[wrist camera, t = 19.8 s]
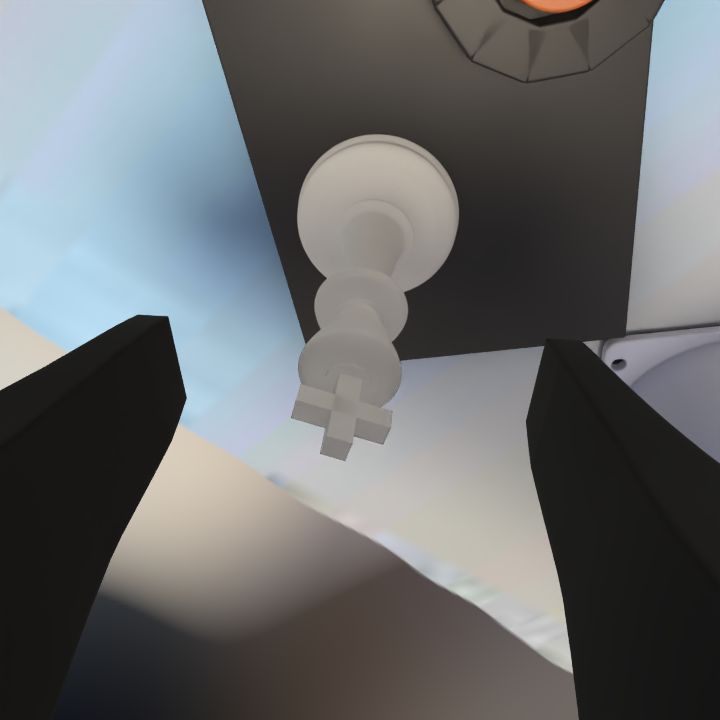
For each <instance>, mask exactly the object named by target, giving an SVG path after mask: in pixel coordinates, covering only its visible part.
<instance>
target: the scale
mask: <svg viewBox="0 0 720 720" xmlns="http://www.w3.org/2000/svg"><path fill="white" fill-rule="evenodd" d="M664 1H665V0H593V1H591V2H589V3H587V4H586V5H584V6H582V7H579V8H577V9H574V10H571V11H567V12H560V13H549V12H543V11H540V10H537V9H534V8H532V7H530V6H528V5H526V4H524V3H522V2H520V1H519V0H202V2H203V5H204V8H205V12H206V15H207V18H208V22H209V25H210V28H211V32H212V35H213V38H214V42H215V45H216V48H217V52H218V55H219V58H220V61H221V65H222V68H223V71H224V75H225V78H226V81H227V85H228V88H229V91H230V95H231V98H232V101H233V105H234V108H235V111H236V114H237V118H238V121H239V124H240V128H241V131H242V134H243V138H244V141H245V144H246V148H247V151H248V154H249V158H250V161H251V164H252V168H253V171H254V174H255V177H256V181H257V184H258V187H259V191H260V194H261V197H262V201H263V204H264V207H265V211H266V214H267V217H268V221H269V224H270V227H271V230H272V234H273V237H274V240H275V244H276V247H277V250H278V254H279V257H280V260H281V264H282V267H283V270H284V274H285V277H286V280H287V283H288V287H289V290H290V293H291V297H292V300H293V303H294V307H295V310H296V313H297V317H298V320H299V323H300V327H301V330H302V333H303V337H304V340H305V343H306V344H307V343H308V341H309V340H310V339H311V338H312V337H313V336H314V335H315V334H316V333H317V332H318V331H320V330H321V329H320V327H319V325H318V322H317V318H316V315H315V307H314V304H315V297H316V294H317V292H318V289H319V288H320V286H321V285H322V283H323V282H324V281H325V280H326V279H327V278H326V277H325V276H324V275H323V274H322V273H321V272H320V271H319V270H318V269H317V268H316V267H315V266H314V264H313V263H312V262H311V260H310V259H309V257H308V255H307V254H306V252H305V250H304V247H303V245H302V242H301V239H300V236H299V231H298V223H297V212H298V202H299V196H300V192H301V188H302V185H303V183H304V180H305V178H306V176H307V174H308V173H309V171H310V169H311V168H312V166H313V165H314V164H315V163H316V161H317V160H318V159H319V158H320V157H321V156H322V155H323V154H324V153H326V152H327V151H328V150H330V149H331V148H332V147H334V146H336V145H337V144H339V143H341V142H343V141H346V140H348V139H351V138H354V137H358V136H363V135H371V134H383V135H391V136H396V137H400V138H403V139H406V140H409V141H411V142H413V143H415V144H417V145H419V146H421V147H422V148H424V149H425V150H427V151H428V152H429V153H430V154H432V155H433V156H434V157H435V158H436V159H437V160H438V161H439V162H440V164H441V165H442V166H443V167H444V169H445V170H446V172H447V173H448V175H449V177H450V179H451V180H452V183H453V185H454V188H455V191H456V194H457V199H458V205H459V222H458V228H457V232H456V236H455V240H454V244H453V246H452V249H451V251H450V253H449V255H448V257H447V259H446V260H445V262H444V263H443V265H442V266H441V267H440V268H439V270H438V271H437V272H436V273H435V274H434V275H433V276H432V277H430V278H429V279H428V280H427V281H425V282H424V283H422V284H420V285H419V286H417V287H415V288H413V289H411V290H408V291H405V292H404V295H405V297H406V300H407V304H408V316H407V320H406V323H405V325H404V327H403V329H402V331H401V332H400V333H399V335H398V336H397V337H396V338H395V339H394V340H393V341H392V344H393V346H394V348H395V350H396V352H397V354H398V357H399V360H400V361H402V360H412V359H422V358H431V357H441V356H451V355H460V354H470V353H480V352H489V351H499V350H508V349H518V348H528V347H537V346H545V342H546V338H548V339H566V340H580V341H582V342H586V341H595V340H605V339H615V338H624V337H625V335H626V323H627V312H628V301H629V290H630V278H631V267H632V256H633V245H634V233H635V222H636V211H637V200H638V188H639V177H640V166H641V155H642V143H643V132H644V121H645V110H646V98H647V87H648V76H649V64H650V53H651V42H652V31H653V20H654V18H655V17H656V15H657V13H658V11H659V10H660V8H661V6H662V4H663V2H664Z"/></svg>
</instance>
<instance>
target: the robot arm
mask: <svg viewBox="0 0 720 720" xmlns="http://www.w3.org/2000/svg"><path fill="white" fill-rule="evenodd" d="M617 359H623V360H622V361H621V362H620V363H618V364H612V362H613V361H615V360H617ZM186 399H187V397H186V393H185V388H184V384H183V379H182V375H181V371H180V366H179V362H178V357H177V353H176V349H175V344H174V340H173V335H172V331H171V327H170V322H169V318H168V316H152V315H136V316H134V317H132V318H130V319H128V320H126V321H124V322H122V323H120V324H118V325H116V326H114V327H113V328H111V329H109V330H107V331H106V332H104V333H102V334H100V335H99V336H97V337H95V338H93V339H92V340H90V341H88V342H87V343H85V344H83V345H81V346H80V347H78V348H76V349H75V350H73V351H71V352H69V353H68V354H66V355H65V356H62V357H61V358H59V359H57V360H56V361H54V362H52V363H50V364H49V365H47V366H46V367H43V368H42V369H40V370H38V371H36V372H34V373H32V374H30V375H28V376H26V377H25V378H23V379H21V380H19V381H17V382H15V383H13V384H11V385H10V386H8V387H6V388H4V389H2V390H0V720H52V719H53V716H54V713H55V709H56V707H57V704H58V701H59V698H60V695H61V691H62V689H63V686H64V683H65V679H66V677H67V674H68V671H69V668H70V665H71V662H72V659H73V656H74V653H75V651H76V648H77V645H78V643H79V640H80V637H81V634H82V632H83V629H84V626H85V624H86V621H87V618H88V615H89V612H90V610H91V607H92V604H93V602H94V600H95V597H96V595H97V592H98V590H99V587H100V585H101V582H102V580H103V577H104V575H105V572H106V570H107V567H108V565H109V562H110V559H111V557H112V555H113V553H114V551H115V549H116V547H117V545H118V542H119V540H120V538H121V536H122V534H123V533H124V531H125V529H126V527H127V525H128V523H129V521H130V519H131V518H132V516H133V514H134V512H135V510H136V508H137V506H138V504H139V502H140V501H141V499H142V497H143V495H144V493H145V491H146V489H147V487H148V486H149V484H150V482H151V480H152V478H153V476H154V474H155V472H156V470H157V469H158V467H159V465H160V463H161V461H162V459H163V457H164V455H165V453H166V451H167V449H168V447H169V445H170V443H171V441H172V439H173V436H174V433H175V430H176V428H177V425H178V422H179V420H180V417H181V414H182V411H183V408H184V405H185V402H186ZM526 426H527V437H528V447H529V455H530V463H531V469H532V474H533V478H534V482H535V486H536V490H537V494H538V498H539V502H540V506H541V510H542V514H543V518H544V522H545V526H546V530H547V534H548V538H549V542H550V545H551V549H552V553H553V557H554V561H555V565H556V569H557V573H558V578H559V582H560V587H561V592H562V597H563V603H564V610H565V617H566V624H567V630H568V637H569V644H570V651H571V659H572V667H573V675H574V683H575V690H576V698H577V707H578V715H579V720H720V326H714V327H705V328H695V329H685V330H676V331H666V332H657V333H647V334H637V335H628V336H625V337H624V338H615V339H610V340H608V341H607V342H606V343H605V344H604V345H603V349H602V360H601V359H600V358H599V357H598V356H597V355H596V354H595V353H594V352H593V351H592V350H591V349H589V348H588V347H587V346H586V345H585V344H584V343H583V342H582V341H580V340H566V339H548V338H546V342H545V346H544V350H543V354H542V358H541V362H540V366H539V370H538V374H537V378H536V382H535V387H534V391H533V395H532V399H531V403H530V407H529V411H528V415H527V419H526Z"/></svg>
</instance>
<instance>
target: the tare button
mask: <svg viewBox="0 0 720 720" xmlns="http://www.w3.org/2000/svg"><path fill="white" fill-rule="evenodd" d="M519 1H520V2H522V3H524V4H526V5H528V6H530V7H532V8H534V9H537V10H540V11H543V12H549V13H560V12H567V11H571V10H574V9H577V8H579V7H582V6H584V5H586V4H587V3H589V2H591V1H593V0H519Z"/></svg>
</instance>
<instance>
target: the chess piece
mask: <svg viewBox="0 0 720 720" xmlns="http://www.w3.org/2000/svg"><path fill="white" fill-rule="evenodd" d="M458 222H459V205H458V199H457V194H456V191H455V188H454V185H453V183H452V180H451V179H450V177H449V175H448V173H447V172H446V170H445V169H444V167H443V166H442V165H441V164H440V162H439V161H438V160H437V159H436V158H435V157H434V156H433V155H432V154H430V153H429V152H428V151H427V150H425V149H424V148H422V147H421V146H419V145H417V144H415V143H413V142H411V141H409V140H406V139H403V138H400V137H396V136H391V135H383V134H371V135H363V136H358V137H354V138H351V139H348V140H346V141H343V142H341V143H339V144H337V145H336V146H334V147H332V148H331V149H330V150H328V151H327V152H326V153H324V154H323V155H322V156H321V157H320V158H319V159H318V160H317V161H316V163H315V164H314V165H313V166H312V168H311V169H310V171H309V173H308V174H307V176H306V178H305V180H304V183H303V185H302V188H301V192H300V196H299V202H298V212H297V223H298V231H299V236H300V239H301V242H302V245H303V247H304V250H305V252H306V254H307V255H308V257H309V259H310V260H311V262H312V263H313V264H314V266H315V267H316V268H317V269H318V270H319V271H320V272H321V273H322V274H323V275H324V276H325V277H326V278H327V279H326V280H325V281H324V282H323V283H322V285H321V286H320V288H319V289H318V292H317V294H316V297H315V304H314V307H315V315H316V318H317V322H318V325H319V327H320V329H321V330H320V331H318V332H317V333H316V334H315V335H314V336H313V337H312V338H311V339H310V340H309V341H308V343H307V344H306V345H305V347H304V349H303V350H302V352H301V355H300V358H299V363H298V372H299V377H300V381H301V383H302V384H301V386H300V389H299V392H298V396H297V399H296V402H295V405H294V409H293V412H292V416H291V418H293V419H296V420H300V421H303V422H306V423H310V424H313V425H317V426H320V427H324V428H325V433H324V437H323V442H322V447H321V452H320V454H322V455H326V456H329V457H333V458H336V459H340V460H343V461H345V460H346V458H347V455H348V453H349V450H350V448H351V446H352V443H353V437H354V436H355V437H358V438H362V439H365V440H369V441H372V442H376V443H379V444H384V442H385V440H386V437H387V435H388V433H389V431H390V429H391V421H392V411H390V410H387V409H383V408H380V407H381V406H383V405H385V404H386V403H387V402H388V401H389V400H391V399H392V397H393V396H394V395H395V393H396V392H397V390H398V388H399V385H400V382H401V376H402V370H401V363H400V360H399V357H398V354H397V352H396V350H395V348H394V346H393V344H392V341H393V340H394V339H395V338H396V337H397V336H398V335H399V333H400V332H401V331H402V329H403V327H404V325H405V323H406V320H407V316H408V304H407V300H406V297H405V295H404V292H405V291H408V290H411V289H413V288H415V287H417V286H419V285H420V284H422V283H424V282H425V281H427V280H428V279H429V278H430V277H432V276H433V275H434V274H435V273H436V272H437V271H438V270H439V268H440V267H441V266H442V265H443V263H444V262H445V260H446V259H447V257H448V255H449V253H450V251H451V249H452V246H453V244H454V240H455V236H456V232H457V228H458Z"/></svg>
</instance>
